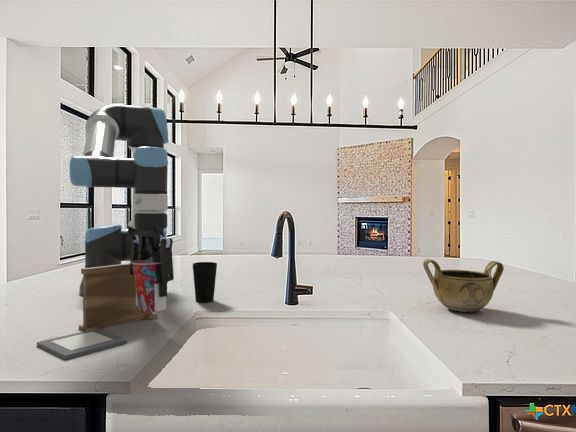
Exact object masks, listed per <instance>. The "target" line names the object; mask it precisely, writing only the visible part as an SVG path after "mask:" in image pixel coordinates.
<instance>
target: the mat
mask: <svg viewBox="0 0 576 432" xmlns="http://www.w3.org/2000/svg"><path fill="white" fill-rule="evenodd" d="M127 340H128V339H126V338H124V337H121V336H118V335H117V334H116V335H115V334H113V333H110V332H108V331H104V330H102V329H95V330H88V331H80V332H75V333H72V334H71V333H70V334H67V335H62V336H57V337H52V338H48V339H45V340H40V341H37V342H36V347H38V348H40V349H42V350H44V351H46V352H49V353H51V354H53V355H55V356H57V357H58V358H61V359H63V360H69V359H73V358H76V357H77V358H78V357H80V356H84V355H88V354H91V353H92V354H93V353H95V352H98V351H102V350H107V349H109V348H110V349H111V348H113V347H116V346H120V345H124V344H127Z"/></svg>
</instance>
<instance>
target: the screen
mask: <svg viewBox="0 0 576 432" xmlns="http://www.w3.org/2000/svg"><path fill="white" fill-rule="evenodd" d="M80 271H81V273H80V274H81V275H82V278H83V295H82V309H83V310H82V322H83V323H81V324H78V330H80V331H81V332H83V331H88V330H95V329H99V330H102V329H105V328H109V327H113V326H116V325H117V326H119V325H122V323H123V324H126V323H129V322H134V321H140V320H143V319H148V320H154V319H158V314H157V313H155V312H153V313H142V312H139V307H138V306H136V286H135V279H134V275H130V262H129V263H121V264H119V265H109V266H100V267H91V268H85V267H84V268H83V267H82V268H80Z"/></svg>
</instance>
